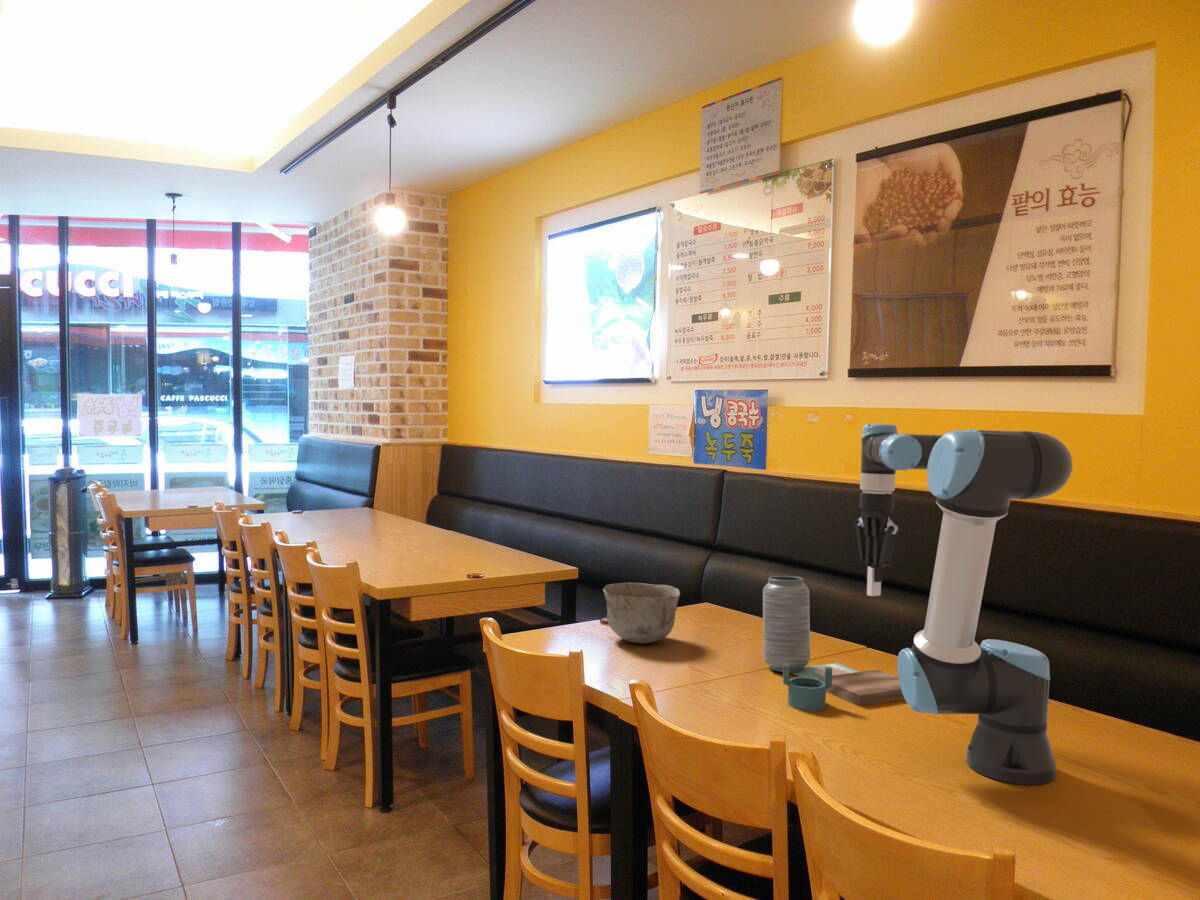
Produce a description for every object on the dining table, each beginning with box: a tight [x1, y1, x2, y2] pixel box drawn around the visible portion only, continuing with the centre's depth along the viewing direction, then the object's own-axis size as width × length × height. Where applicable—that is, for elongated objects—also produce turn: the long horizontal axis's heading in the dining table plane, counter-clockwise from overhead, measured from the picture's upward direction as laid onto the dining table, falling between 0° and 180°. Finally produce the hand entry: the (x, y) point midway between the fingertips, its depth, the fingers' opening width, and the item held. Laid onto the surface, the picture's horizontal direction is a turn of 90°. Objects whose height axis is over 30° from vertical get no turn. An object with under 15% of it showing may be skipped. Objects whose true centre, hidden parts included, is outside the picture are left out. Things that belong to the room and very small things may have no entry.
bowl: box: [602, 582, 681, 645], centre depth 249 cm, size 22×22×15 cm
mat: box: [789, 662, 859, 679], centre depth 220 cm, size 14×16×1 cm
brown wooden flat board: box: [819, 669, 905, 707], centre depth 207 cm, size 14×18×2 cm
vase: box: [762, 575, 811, 673], centre depth 225 cm, size 12×12×23 cm
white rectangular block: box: [814, 663, 854, 677], centre depth 218 cm, size 9×6×2 cm, turn 24°
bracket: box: [782, 664, 832, 712], centre depth 198 cm, size 9×9×9 cm
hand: (873, 595), depth 200 cm, fingers closed
